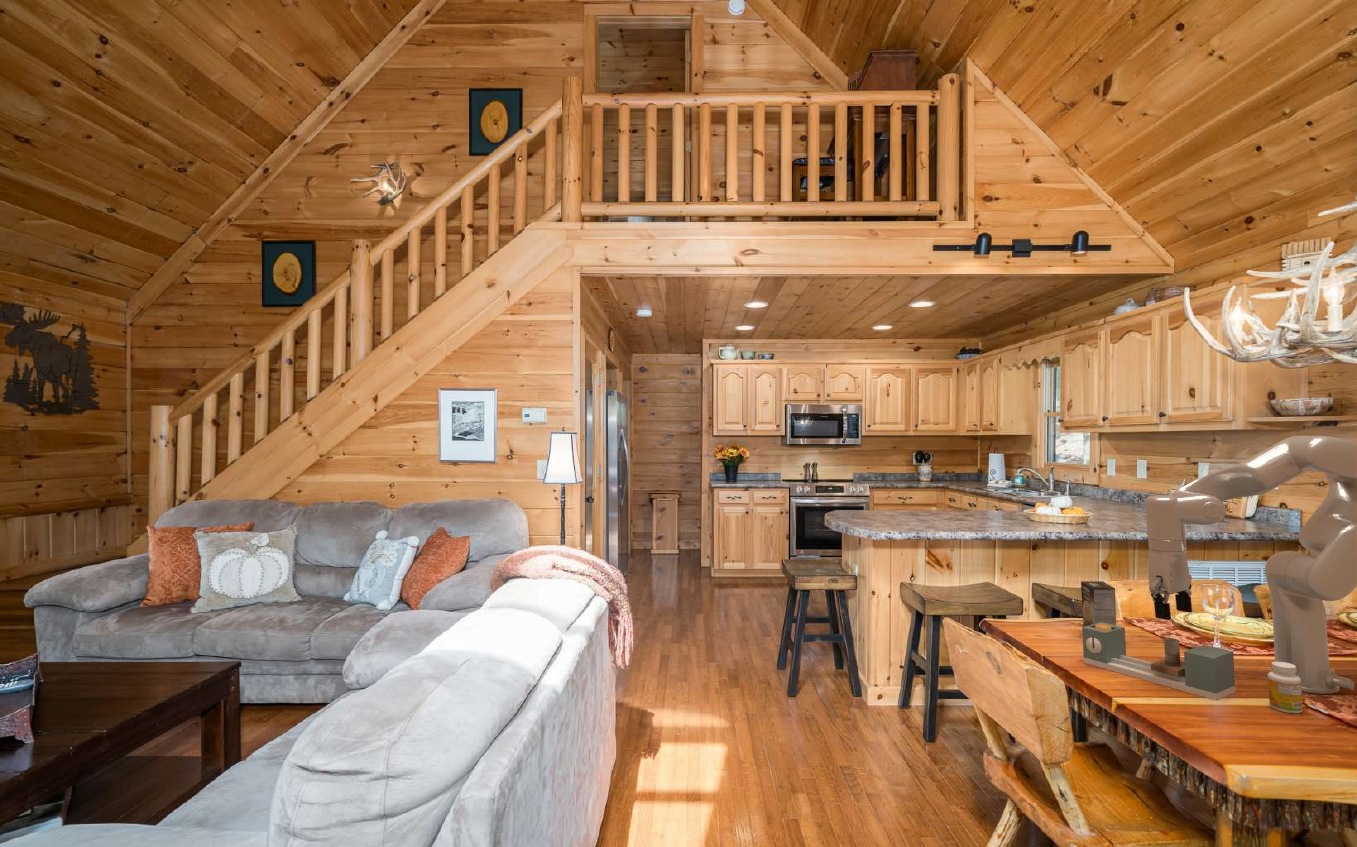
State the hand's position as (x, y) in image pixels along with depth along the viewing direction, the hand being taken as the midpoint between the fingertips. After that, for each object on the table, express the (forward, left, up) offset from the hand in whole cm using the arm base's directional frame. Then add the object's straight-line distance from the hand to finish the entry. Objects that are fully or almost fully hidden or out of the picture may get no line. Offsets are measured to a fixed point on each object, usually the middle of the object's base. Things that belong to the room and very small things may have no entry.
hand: (1173, 614), depth 162 cm
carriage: (+1, +1, -14) cm, 14 cm away
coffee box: (+30, -20, -17) cm, 39 cm away
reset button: (+17, +1, -10) cm, 19 cm away
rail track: (+5, +1, -16) cm, 17 cm away
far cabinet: (+17, +1, -15) cm, 22 cm away
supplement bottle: (-20, -2, -17) cm, 26 cm away
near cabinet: (-7, +1, -15) cm, 16 cm away
